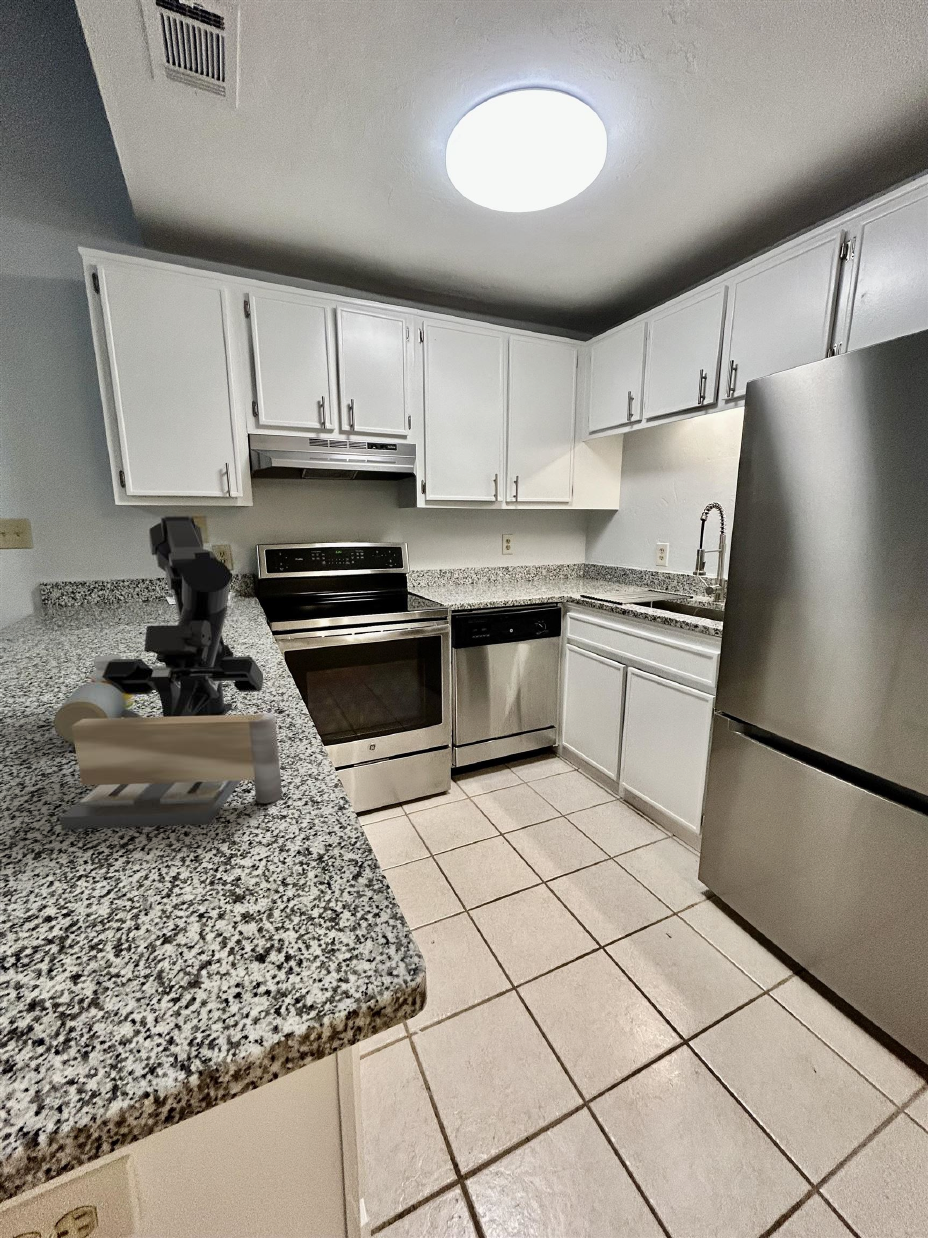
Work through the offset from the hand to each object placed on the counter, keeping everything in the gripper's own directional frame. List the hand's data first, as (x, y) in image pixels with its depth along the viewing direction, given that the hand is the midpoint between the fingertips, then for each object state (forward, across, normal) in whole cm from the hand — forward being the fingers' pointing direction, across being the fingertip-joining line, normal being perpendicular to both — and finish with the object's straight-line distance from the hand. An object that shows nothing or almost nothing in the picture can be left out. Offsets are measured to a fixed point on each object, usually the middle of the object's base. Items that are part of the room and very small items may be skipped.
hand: (170, 736), depth 64 cm
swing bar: (+7, +3, +2) cm, 8 cm away
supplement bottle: (-14, -23, +23) cm, 36 cm away
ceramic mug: (-7, -19, +17) cm, 26 cm away
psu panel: (+7, 0, +3) cm, 7 cm away
